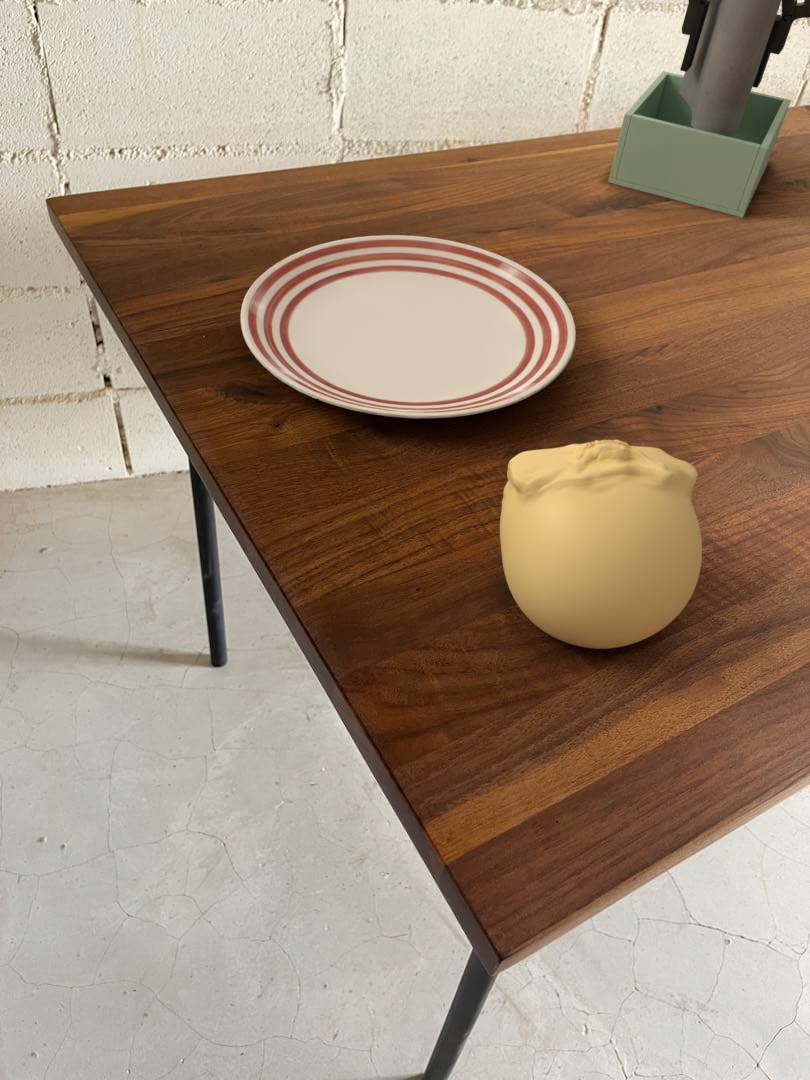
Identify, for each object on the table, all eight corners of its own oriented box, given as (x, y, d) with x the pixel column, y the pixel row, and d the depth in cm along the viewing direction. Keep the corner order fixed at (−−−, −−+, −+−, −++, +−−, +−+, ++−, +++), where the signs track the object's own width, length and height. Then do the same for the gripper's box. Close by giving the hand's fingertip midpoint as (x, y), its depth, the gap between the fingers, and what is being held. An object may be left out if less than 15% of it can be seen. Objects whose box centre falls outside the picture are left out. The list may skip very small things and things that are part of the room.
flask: (746, 141, 96) (823, -80, 82) (693, 135, 96) (760, -87, 82) (723, 94, 107) (788, -108, 93) (675, 89, 107) (732, -115, 93)
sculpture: (635, 527, 61) (683, 399, 53) (700, 667, 53) (767, 539, 45) (473, 534, 59) (499, 402, 52) (514, 680, 51) (551, 549, 43)
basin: (766, 165, 110) (791, 99, 105) (741, 220, 98) (767, 148, 93) (645, 135, 114) (662, 70, 109) (607, 184, 102) (624, 113, 97)
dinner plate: (312, 481, 61) (313, 444, 59) (201, 289, 78) (198, 254, 76) (632, 405, 71) (643, 370, 69) (472, 248, 88) (476, 216, 86)
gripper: (688, -203, 82) (624, 64, 98) (913, -169, 77) (807, 106, 93) (704, -207, 87) (641, 48, 103) (917, -176, 82) (815, 87, 98)
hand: (720, 75), depth 98 cm, fingers closed on flask, 7 cm apart
